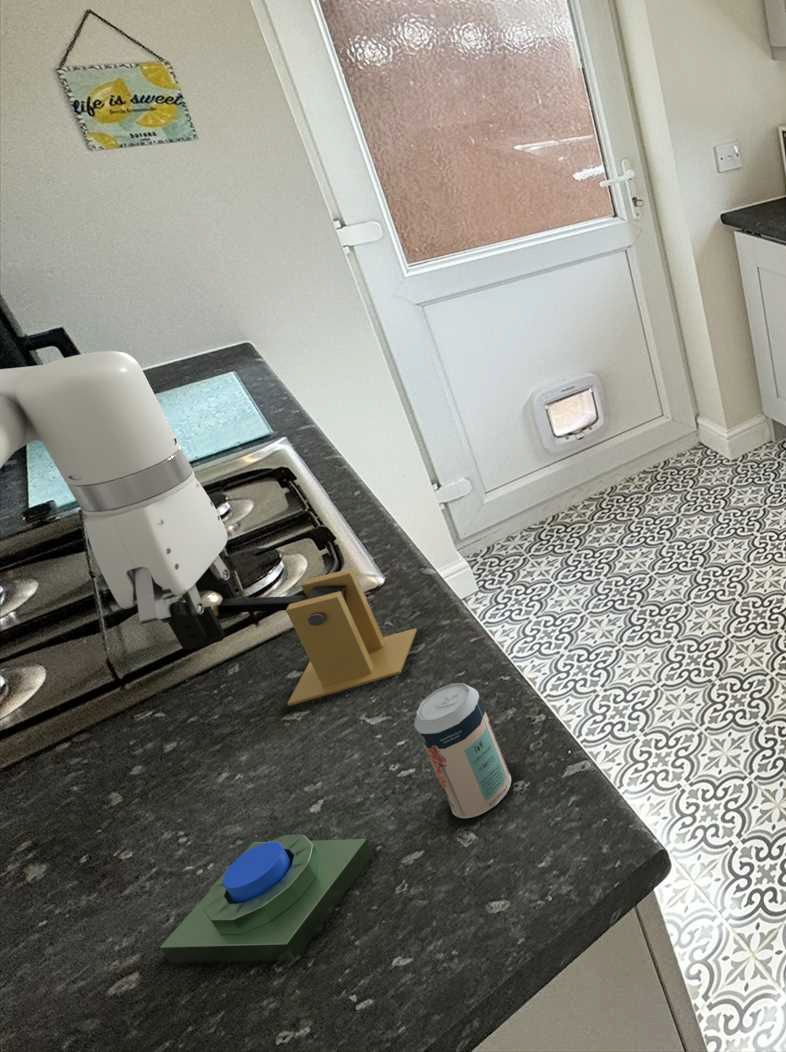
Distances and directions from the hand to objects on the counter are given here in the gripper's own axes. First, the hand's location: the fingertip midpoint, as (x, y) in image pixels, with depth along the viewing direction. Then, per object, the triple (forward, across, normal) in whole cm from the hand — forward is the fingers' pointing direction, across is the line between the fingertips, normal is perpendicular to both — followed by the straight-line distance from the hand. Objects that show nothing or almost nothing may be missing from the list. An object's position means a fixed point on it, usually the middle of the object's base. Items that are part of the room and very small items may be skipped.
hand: (214, 628), depth 80 cm
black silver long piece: (0, 0, +4) cm, 4 cm away
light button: (+7, +27, +11) cm, 30 cm away
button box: (+10, +28, +11) cm, 31 cm away
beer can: (+11, +24, +25) cm, 36 cm away
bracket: (+10, 0, +9) cm, 14 cm away
